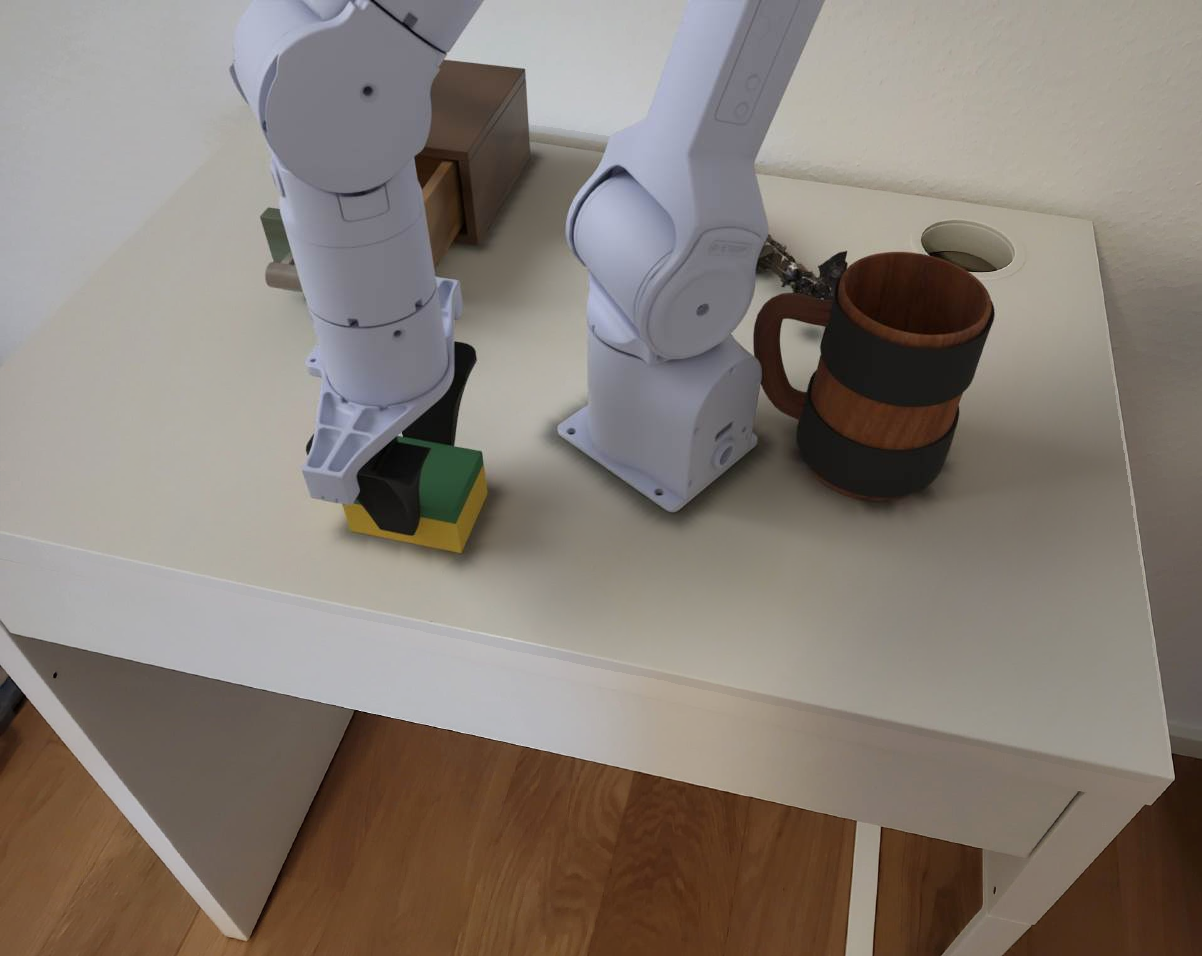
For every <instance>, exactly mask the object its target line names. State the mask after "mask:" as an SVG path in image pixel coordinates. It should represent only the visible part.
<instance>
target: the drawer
mask: <svg viewBox="0 0 1202 956" xmlns="http://www.w3.org/2000/svg"><path fill="white" fill-rule="evenodd" d="M414 160H415V166H416V173H417V179H418V182H419V183H420V186H421V189H422V193H423V199H424V206H425V213H426V219H427V225H428V232H429V238H430V245H431V251H432V257H433V264H434V270H436V268H437V267H438V265H439V263H440V262H441V260H442V259H443V257H444V256H445V254H446V252H447V251H448V250H449V247H451V245H452V243H453V242H452V241H453V240H454V238H455V237H456V235H457V233H458V232H459V230H460V229H461V227H462V226H463V224H464V222H465V221H466V218H465V210H464V202H463V194H462V185H461V177H460V169H459V161H458V160H451V159H443V158H436V157H428V156H420V155H416V156H414ZM259 218H260V222H261V226H262V229H263V232H264V235H265V238H266V243H267V245H268V249H269V252H270V255H271V258H272V261H271V262H270V263H268V264H267V266H266V268H265V273H264V278H265V279H264V280H265V283H266V285H267V286H268V287H269V288H273V289H279V290H282V291H289V292H297V293H302V294H303V290H302V287H301V283H300V280H299V276H298V273H297V269H296V266H295V262H294V259H293V255H292V252H291V248H290V245H289V241H288V238H287V234H286V231H285V227H284V224H283V220H282V217H281V213H280V208H275V207H267V208H266V209H265V210H264V211H263V212H262V213H261V214H260V215H259Z"/></svg>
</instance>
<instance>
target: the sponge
mask: <svg viewBox="0 0 1202 956" xmlns="http://www.w3.org/2000/svg"><path fill="white" fill-rule="evenodd" d="M397 439H398V442H401V443H407V444H412V445H418V446H423V447H428V448H431V450H430V452H429V454H428V456H427V458H426V459H425V461H424V464H423V467H422V471H421V476H420V485H419V496H420V521H419V526H418V528H417V530H416V532H415V534H414V535H413V536H409V535H404V534H399V533H394V532H389V531H384V530H380V529H379V527H378V526H377V525H376V523H375V522H374V521H373V519H372V518H371V517H370V515H369V514H368V513H367V511H366V510H365V509H364V507H363V506H362V505H361V504H360V503H359V502H358V500H357V499H355V501H354V503H353V504H352V505H346V504H341V506H342V508H343V511H344V512H343V513H344V515H345V517H346V521H347V524H348V527H349V531H351V532H355V533H359V534H363V535H368V536H374V537H379V538H383V539H389V540H393V541H398V542H403V543H408V544H413V545H418V546H424V547H428V548H433V549H437V550H442V551H447V552H453V553H458V554H462V553H463V551H464V549H465V546H466V544H467V541H468V539H469V538H470V534H471V532H472V530H473V528H474V526H475V524H476V521H477V519H478V516H479V514H480V512H481V510H482V508H483V505H484V503H485V501H486V498H487V496H488V495H489V492H488V485H487V484H488V483H487V477H486V469H485V464H484V463H485V462H484V455H483V451H482V450H476V449H471V448H466V447H461V446H455V445H454V446H450V445H445V444H439V443H434V442H429V441H423V440H418V439H412V438H407V437H403V436H402V435H397Z"/></svg>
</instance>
